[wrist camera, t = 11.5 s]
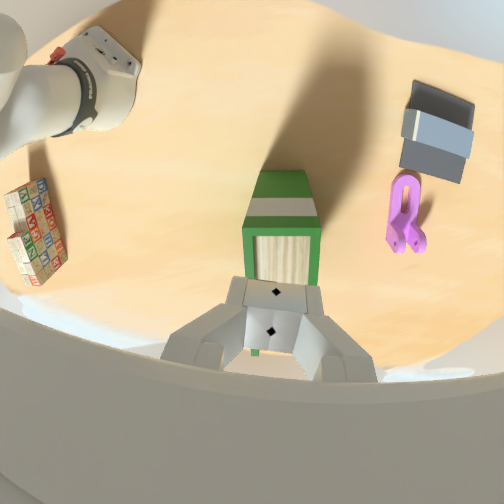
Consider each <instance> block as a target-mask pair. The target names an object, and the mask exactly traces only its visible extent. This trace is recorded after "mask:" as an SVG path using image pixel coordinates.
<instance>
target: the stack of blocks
mask: <svg viewBox="0 0 504 504" xmlns="http://www.w3.org/2000/svg"><path fill="white" fill-rule="evenodd" d="M4 198H5V201H6V205H7V209H8V213H9V216H10V219H11V222H12V225H13V228H14V231H15V232H16V233H14V234H13V235H11V236H10V237H9V238H7V241H8V244H9V246H10V249H11V251H12V254H13V256H14V259H15V261H16V264H17V266H18V269H19V271H20V273H21V276H22V278H23V280H24V283H25V285H29V286H42V285H43V284H44V283H45V282H46V281H47V280H48V279H49V278H50V277H51V276H52V275H53V274H54V273H55V272H56V271H57V270H58V269H59V268H60V267H61V265H63V264H64V263H65V262H66V261H67V260H68V258H67V255H66V252H65V249H64V245H63V242H62V239H61V236H60V233H59V229H58V226H57V224H56V221H55V217H54V214H53V211H52V207H51V203H50V199H49V195H48V191H47V187H46V183H45V178H42V179H38V180H34V181H30V182H28V183H26V184H24V185H23V186H20V187H18V188H17V189H15V190H13V191H11V192H9V193H7V194H5V195H4Z"/></svg>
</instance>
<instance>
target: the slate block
mask: <svg viewBox="0 0 504 504" xmlns="http://www.w3.org/2000/svg"><path fill="white" fill-rule="evenodd" d="M473 135H474V131H471V130H469V129H467V128H464V127H462V126H459V125H457V124H454V123H452V122H449V121H447V120H444V119H441V118H439V117H436V116H433V115H430V114H427V113H424V112H421V111H419V110H413V109H405V113H404V119H403V126H402V132H401V136H402V137H404V138H407V139H410V140H413V141H417V142H420V143H424V144H427V145H430V146H433V147H436V148H439V149H442V150H445V151H448V152H451V153H454V154H457V155H460V156H462V157H465V158H468V159H469V156H470V151H471V146H472V141H473Z"/></svg>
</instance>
